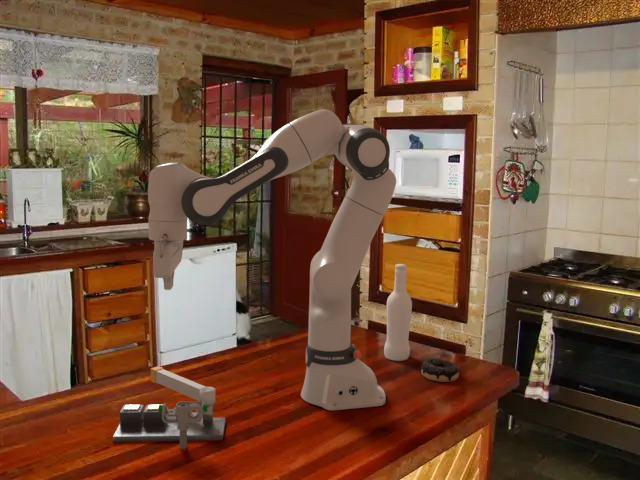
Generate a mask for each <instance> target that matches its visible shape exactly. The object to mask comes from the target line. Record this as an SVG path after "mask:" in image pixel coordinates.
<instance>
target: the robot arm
mask: <svg viewBox="0 0 640 480" xmlns="http://www.w3.org/2000/svg"><path fill="white" fill-rule="evenodd" d="M390 149H391V148H390V142H389V140H388V139H387V137H386V136H385V135H384V134H383V133H382V132H381V131H380V130H378V129H376V128H373V127H371V126H369V125H365V124H357V123H342V121H341V120H340V118H339V117H338V116H337V114H335V112H333V111H332V110H329V109H325V108H323V109H318V110H314V111H312V112H309V113H307V114H304V115H303V116H300V117H298V118H296V119H294V120H292V121H290V122H289V123H287V124H285V125H283V126H281V128H278V129H277V130H276V131H274V132H273V133H272V134H271V135H270V136H268V137H267V139H265V141H264V142H263V143H262V145H261V148H260V149H258V151H257V153H255V154H254V155H253V156H252V157H251V158H249V159H248V160H246V161H245V162H243V163H241V164H240V165H238V166H236V167H234V168H233V169H232V170H230V171H228V172H226V173H224V174H222V175H221V176H218V177H215V178H212V177H210V176H206V175H203V174H201V173H199V172H197V171H194V170H193V169H190V168H189V167H187V166H186V165H185V164H184V163H182V162H177V161H175V162H169V163H163V164H158V165H156V166H154V167H153V168H152V169H151V171H149V177H148V183H147V186H148V187H147V203H148V205H149V214H148V239H149V240H150V241H154V243H153V245H154V249H153V276H154V278H157V279H162V281H163V290H164V291H170V290H172V289H173V287H174V278H175V270H176V269H177V267H178V266H179V265H180V263H181V262H182V258H183V247H184V240H187V239H188V219H189V220H190V221H191V222H193V223H194V224H197V225H201V226H208V225H209V226H210V225H214V224H216V223H217V222H219V221H220V220H221V219H222V218H223V217H224V216H225V215H226V213H227V212H228V210H229V209H230V208H231V207H232V205H233V204H234V203H235V202H236V201H238V200H239V199H241V198H242V197H245V196H246V195H247V194H249V193H251V192H252V191H255V190H256V189H257V188H259V187H260V186H262V185H264V184H265V183H267V182H269V181H272V180H274V179H277V178H281V177H285V176H287V175H291V174H293V173H295V172H298V171H299V170H302V169H304V168H306V167H308V166H309V165H311V164H313V163H315V162H316V161H318V160H319V159H321V158H322V157H326V156H329V155H331V156H333V158H334V159H335V160H336V161H337V162H339V163H340V164H341V165H343V166H345V167H346V168H348V169H350V170H352V180H351V184H350V186H349V188H348V190H347V192H346V194H345V196H344V198H343V200H342V202H341V204H340V206H339V208H338V211H337V212H336V213H335V216H334V219H333V221H332V222H331V224H330V227H329V229H328V232H327V233H326V234H327V235H326V237H325V238H324V241H323V243H322V245H321V248H320V250H319V251H318V252H316V253H315V255H313V257H312V259H311V262H310V267H309V298H308V299H309V300H308V301H309V304H308V330H307V331H308V333H307V334H308V337H307V343H306V348H305V365H306V368H305V377H304V381H303V386H302V389H301V391H300V397H301V398H302V400H304V401H305V402H306V403H308V404H311V405H314V406H318V407H321V408H322V409H325V410H327V411H340V410H349V409H350V410H351V409H361V408H373V407H380V406H383V405H385V403H386V402H387V398H386V393H385V390H384V389H383V388H382V387H381V386H380V385H379V384H378V380H377V377H376V374H375V373H374V371H373V369H371V368H370V366H368V365H367V364H365V363H364V362H362V360H360V359H361V357H362V353H361V351H360V350H359V349H358V348H357V346H355V344H354V343H351V331H352V330H351V329H352V326H351V325H352V289H353V288H352V287H353V285H354V283H355V280H356V278H357V276H358V275H359V271H360V270H361V267H362V265H363V262H364V261H365V257H366V255H367V253H368V249H370V248H369V247H370V245H371V243H372V240H373V239H374V236H375V235H376V232H377V231H378V229H379V226H380V224H381V223H382V221H383V218H384V217H385V215H386V212H387V211H388V208H389V206H390V204H391V201H392V199H393V195H394V192H395V190H396V189H395V188H396V185H397V178H396V175H395V173H394V172H393V170H391V169H390V155H391V150H390Z"/></svg>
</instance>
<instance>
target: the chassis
mask: <svg viewBox="0 0 640 480" xmlns="http://www.w3.org/2000/svg"><path fill="white" fill-rule="evenodd" d="M207 406H208V407H207V412H204V411H203V417H202V420H201V421H200V422H199V423H189V428H188V429H187V442H188V441H190V442H191V441H193V442H194V441H223V439H224V434H225V428H226V427H225V426H226V417H213V416H214V414H213V413H214V408H213V406H214V404H212V405H207ZM117 426H118V427H117V428H116V430H115V432H114V434H113V436H112V442H114V443H115V442H116V443H117V442H118V443H119V442H120V443H121V442H124V443H125V442H126V443H127V442H177V441H178V442H180V430H179V429H177V426H178V423H165V425H164V426H144V420H143V422H142V424H141V426H120V423H119V424H118V425H117Z"/></svg>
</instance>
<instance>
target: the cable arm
mask: <svg viewBox="0 0 640 480" xmlns="http://www.w3.org/2000/svg"><path fill="white" fill-rule="evenodd" d="M150 382H152V383H153V384H158V385H162V386H164V387H165V388H168V389H170V390H172V391H175V392H177V393H179V394H181V395H184V396H186V397H189V398H191V399H193V400H195V401H204V405H205V404H207V405H212V404H213V405H214V404H215V403H216V388H215V387H213V386H205V385H203V384H200V383H197V382H196V381H193V380H191V379H188V378H186V377H183V376H180V375H178V374H176V373H174V372H171V371H169V370H166V369H165V368H164V367H162V366H159V365H157V366H154V367H151V368H150Z"/></svg>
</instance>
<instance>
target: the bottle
mask: <svg viewBox="0 0 640 480" xmlns="http://www.w3.org/2000/svg"><path fill="white" fill-rule="evenodd" d="M394 268H395V270H394V283H393V284H394V285H393V291H392V292H391V293H390V294H389V296H388V297H387V300H386V340H385V344H384V346H383V347H384V349H383V353H384V357H385V358H386V359H388V360H390V361H394V362H402V361H406V360H408V359H409V357H410V354H411V346H410V343H409V336H410V335H409V334H410V328H411V327H410V326H411V317H412V311H413V310H412V308H413V300H412V297H411V296H410V294H409V293H408V292H407V274H408V270H407V265H406V264H404V263H397V264H395V265H394Z"/></svg>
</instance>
